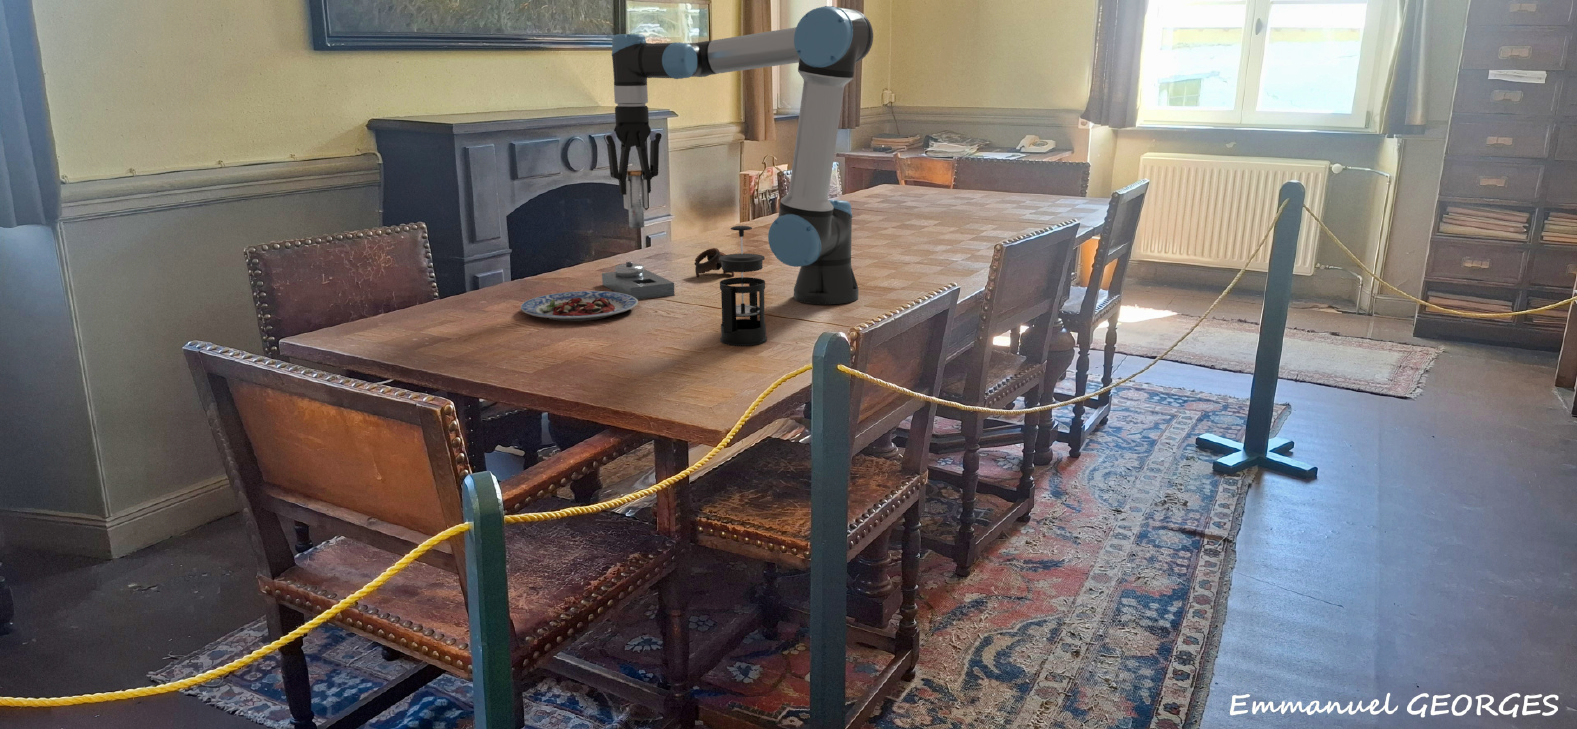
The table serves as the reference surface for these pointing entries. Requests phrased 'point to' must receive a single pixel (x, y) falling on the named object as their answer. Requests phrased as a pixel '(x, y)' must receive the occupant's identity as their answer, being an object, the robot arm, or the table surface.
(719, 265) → the broken brown mug
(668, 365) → the table surface
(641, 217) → the pin
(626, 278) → the block
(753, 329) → the french press
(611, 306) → the ceramic plate
